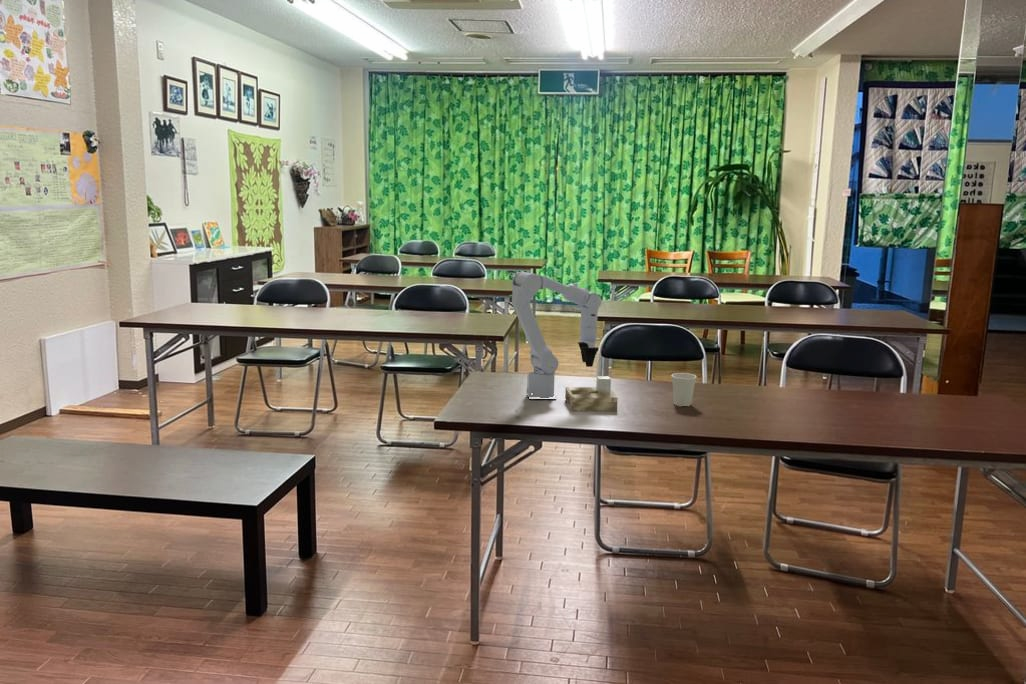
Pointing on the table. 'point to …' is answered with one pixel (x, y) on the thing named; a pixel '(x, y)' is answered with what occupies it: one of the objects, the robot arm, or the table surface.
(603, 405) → the keyhole plate
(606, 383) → the headed peg
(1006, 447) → the table surface
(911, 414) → the table surface
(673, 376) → the dixie cup
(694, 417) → the table surface
